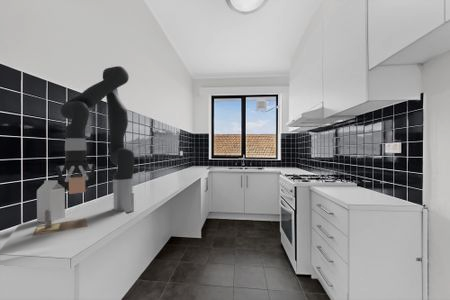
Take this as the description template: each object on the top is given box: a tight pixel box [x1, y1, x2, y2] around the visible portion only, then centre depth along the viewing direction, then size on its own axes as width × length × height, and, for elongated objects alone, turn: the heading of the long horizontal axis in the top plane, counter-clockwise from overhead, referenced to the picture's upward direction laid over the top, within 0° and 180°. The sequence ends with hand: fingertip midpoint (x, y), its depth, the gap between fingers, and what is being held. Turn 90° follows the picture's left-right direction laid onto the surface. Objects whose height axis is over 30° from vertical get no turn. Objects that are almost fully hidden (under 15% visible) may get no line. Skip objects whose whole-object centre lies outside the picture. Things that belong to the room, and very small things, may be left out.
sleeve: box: [68, 176, 86, 195], centre depth 93 cm, size 6×6×6 cm
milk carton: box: [36, 179, 66, 223], centre depth 100 cm, size 7×7×19 cm
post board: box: [32, 209, 88, 237], centre depth 90 cm, size 17×13×9 cm
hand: (77, 189), depth 93 cm, fingers closed on sleeve, 5 cm apart
